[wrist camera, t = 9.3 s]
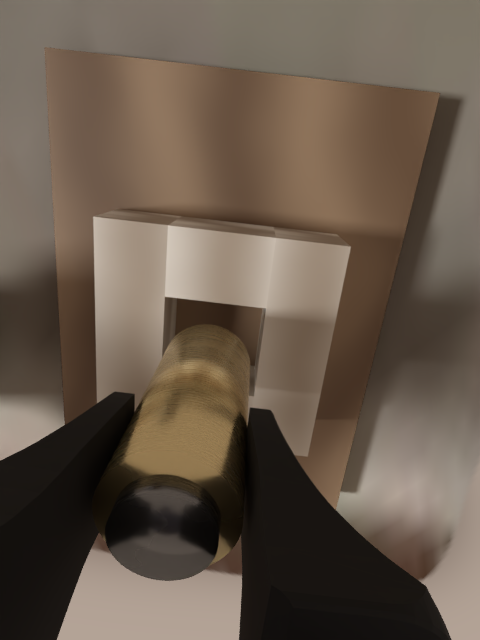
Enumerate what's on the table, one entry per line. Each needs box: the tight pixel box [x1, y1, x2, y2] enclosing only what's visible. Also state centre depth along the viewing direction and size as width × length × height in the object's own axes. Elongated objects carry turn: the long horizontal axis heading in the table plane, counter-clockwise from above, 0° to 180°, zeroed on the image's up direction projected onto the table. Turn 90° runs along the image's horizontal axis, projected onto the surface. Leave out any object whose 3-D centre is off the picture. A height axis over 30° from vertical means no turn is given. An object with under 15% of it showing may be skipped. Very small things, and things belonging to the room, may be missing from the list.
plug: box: [92, 324, 250, 581], centre depth 12 cm, size 3×3×8 cm
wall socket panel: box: [45, 47, 440, 510], centre depth 20 cm, size 16×22×4 cm
